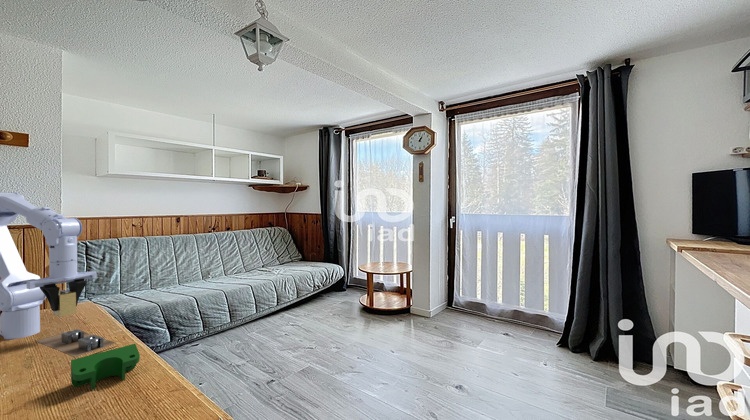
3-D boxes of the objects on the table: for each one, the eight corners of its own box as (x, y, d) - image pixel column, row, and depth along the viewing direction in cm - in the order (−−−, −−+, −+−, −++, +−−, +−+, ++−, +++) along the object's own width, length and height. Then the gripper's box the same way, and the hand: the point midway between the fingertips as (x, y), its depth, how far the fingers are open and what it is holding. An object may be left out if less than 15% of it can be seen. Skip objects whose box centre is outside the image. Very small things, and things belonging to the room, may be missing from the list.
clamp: (86, 410, 67) (62, 383, 63) (82, 392, 71) (60, 365, 67) (149, 371, 75) (132, 344, 71) (143, 356, 79) (126, 330, 75)
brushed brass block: (53, 314, 90) (52, 291, 90) (69, 311, 94) (68, 288, 94) (60, 317, 89) (59, 293, 89) (76, 313, 92) (75, 290, 92)
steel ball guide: (61, 341, 89) (61, 333, 89) (77, 337, 92) (77, 329, 92) (87, 351, 83) (87, 342, 83) (103, 346, 86) (103, 337, 86)
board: (35, 344, 89) (35, 340, 89) (76, 332, 97) (76, 329, 97) (74, 360, 80) (74, 356, 80) (116, 346, 88) (116, 342, 88)
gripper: (34, 266, 83) (35, 318, 83) (101, 257, 96) (102, 303, 96) (22, 264, 86) (23, 314, 86) (89, 256, 99) (90, 300, 99)
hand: (64, 308), depth 91 cm, fingers closed on brushed brass block, 3 cm apart
